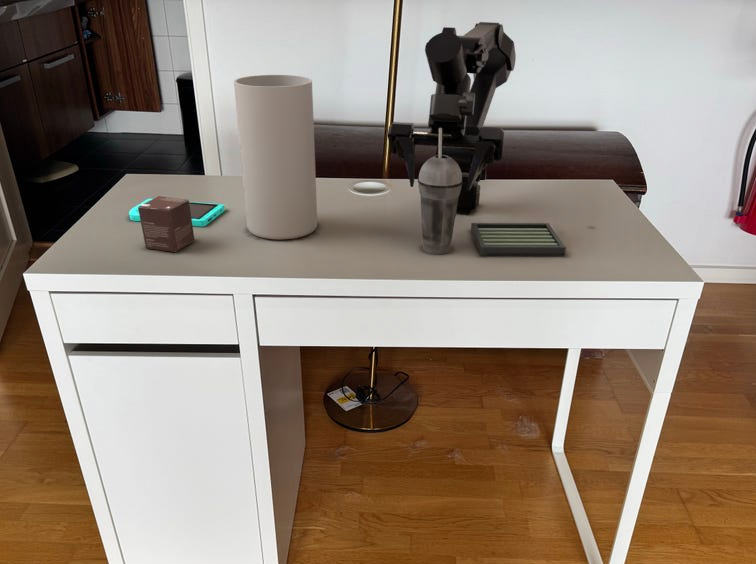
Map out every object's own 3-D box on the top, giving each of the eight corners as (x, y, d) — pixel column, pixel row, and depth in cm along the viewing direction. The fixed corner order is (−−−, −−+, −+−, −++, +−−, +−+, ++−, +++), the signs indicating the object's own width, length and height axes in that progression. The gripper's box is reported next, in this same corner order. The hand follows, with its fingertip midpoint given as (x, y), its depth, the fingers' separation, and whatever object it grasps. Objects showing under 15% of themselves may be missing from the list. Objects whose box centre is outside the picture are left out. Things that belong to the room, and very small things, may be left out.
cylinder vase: (330, 224, 126) (326, 78, 113) (291, 246, 116) (282, 89, 104) (275, 213, 131) (265, 72, 118) (233, 233, 121) (217, 82, 109)
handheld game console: (150, 203, 135) (149, 196, 134) (226, 209, 132) (225, 202, 132) (123, 220, 126) (122, 213, 126) (204, 227, 124) (203, 219, 123)
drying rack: (480, 256, 113) (481, 247, 112) (470, 231, 124) (471, 222, 123) (564, 256, 114) (565, 247, 113) (547, 231, 124) (549, 222, 123)
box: (195, 241, 118) (190, 199, 114) (175, 253, 113) (169, 210, 109) (165, 236, 119) (158, 195, 116) (144, 248, 114) (136, 205, 111)
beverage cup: (464, 245, 117) (473, 124, 107) (449, 260, 112) (457, 133, 101) (424, 238, 120) (429, 120, 110) (408, 252, 114) (412, 128, 104)
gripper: (390, 69, 108) (376, 156, 105) (509, 74, 105) (499, 164, 102) (397, 112, 119) (385, 193, 115) (506, 117, 116) (497, 200, 112)
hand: (439, 187), depth 111 cm, fingers open, 9 cm apart
